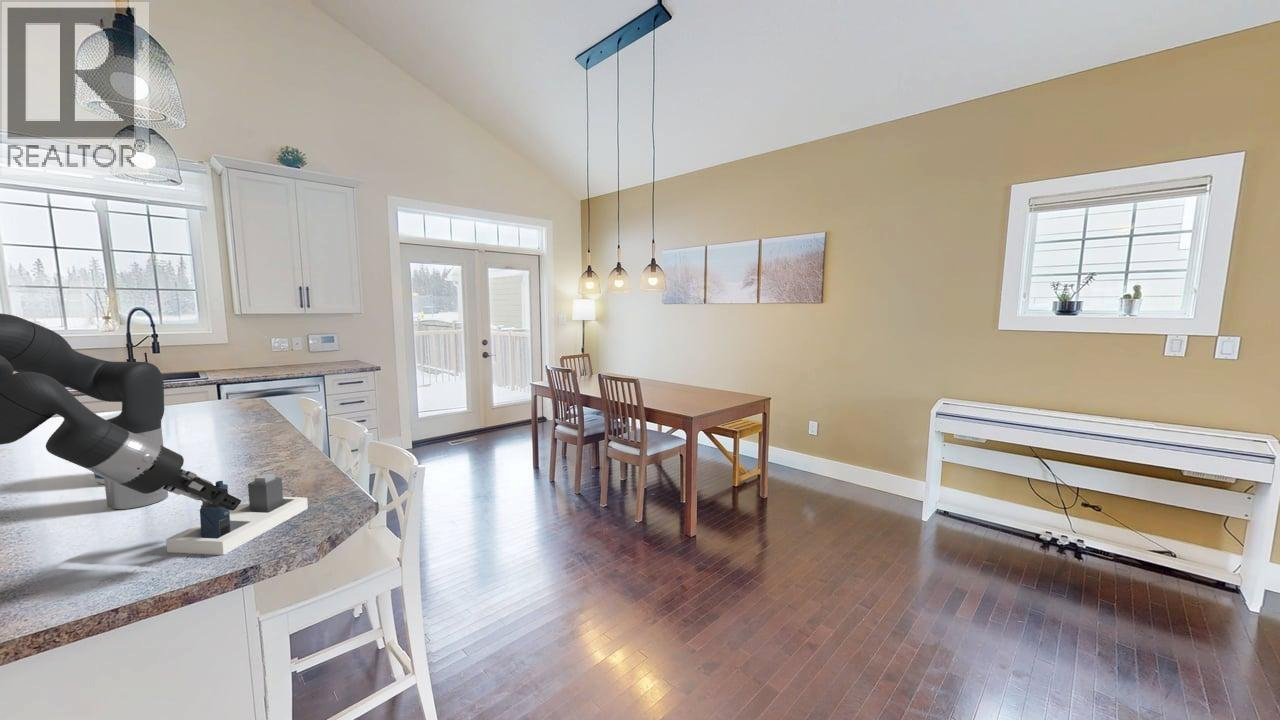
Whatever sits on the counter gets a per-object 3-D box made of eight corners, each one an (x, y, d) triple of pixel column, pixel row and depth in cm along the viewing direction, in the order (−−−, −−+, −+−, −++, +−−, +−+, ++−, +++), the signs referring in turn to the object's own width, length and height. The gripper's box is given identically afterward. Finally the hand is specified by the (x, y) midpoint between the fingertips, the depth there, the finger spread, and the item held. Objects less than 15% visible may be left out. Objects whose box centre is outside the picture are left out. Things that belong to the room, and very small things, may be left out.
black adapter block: (250, 519, 98) (247, 479, 97) (266, 511, 102) (263, 472, 101) (268, 520, 98) (265, 479, 97) (284, 512, 102) (281, 473, 101)
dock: (224, 559, 84) (222, 541, 84) (167, 557, 85) (165, 539, 85) (308, 512, 104) (307, 497, 104) (261, 510, 105) (260, 495, 105)
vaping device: (220, 545, 87) (217, 484, 86) (198, 542, 88) (194, 481, 87) (234, 539, 90) (231, 480, 89) (213, 536, 91) (210, 477, 90)
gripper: (95, 475, 79) (188, 513, 90) (136, 489, 73) (229, 527, 85) (135, 437, 83) (219, 478, 95) (177, 448, 77) (260, 490, 89)
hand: (224, 501), depth 90 cm, fingers open, 8 cm apart
